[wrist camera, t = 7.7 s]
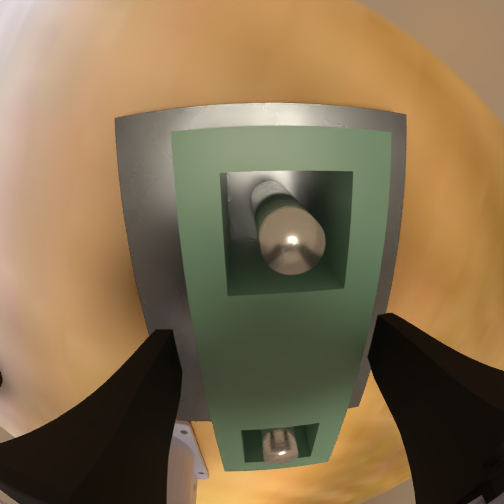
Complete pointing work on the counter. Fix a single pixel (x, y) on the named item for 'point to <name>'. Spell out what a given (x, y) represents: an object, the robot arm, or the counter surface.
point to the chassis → (238, 224)
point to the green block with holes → (281, 284)
